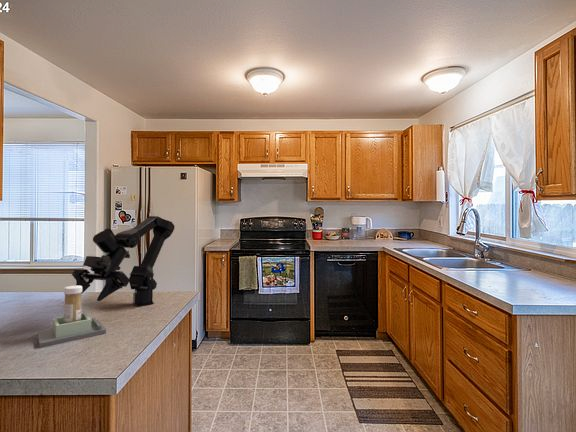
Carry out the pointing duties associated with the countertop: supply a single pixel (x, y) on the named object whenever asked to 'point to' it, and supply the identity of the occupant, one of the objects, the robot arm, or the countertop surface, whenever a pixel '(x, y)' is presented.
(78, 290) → the sprinkles bottle
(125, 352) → the countertop surface
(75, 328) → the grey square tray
